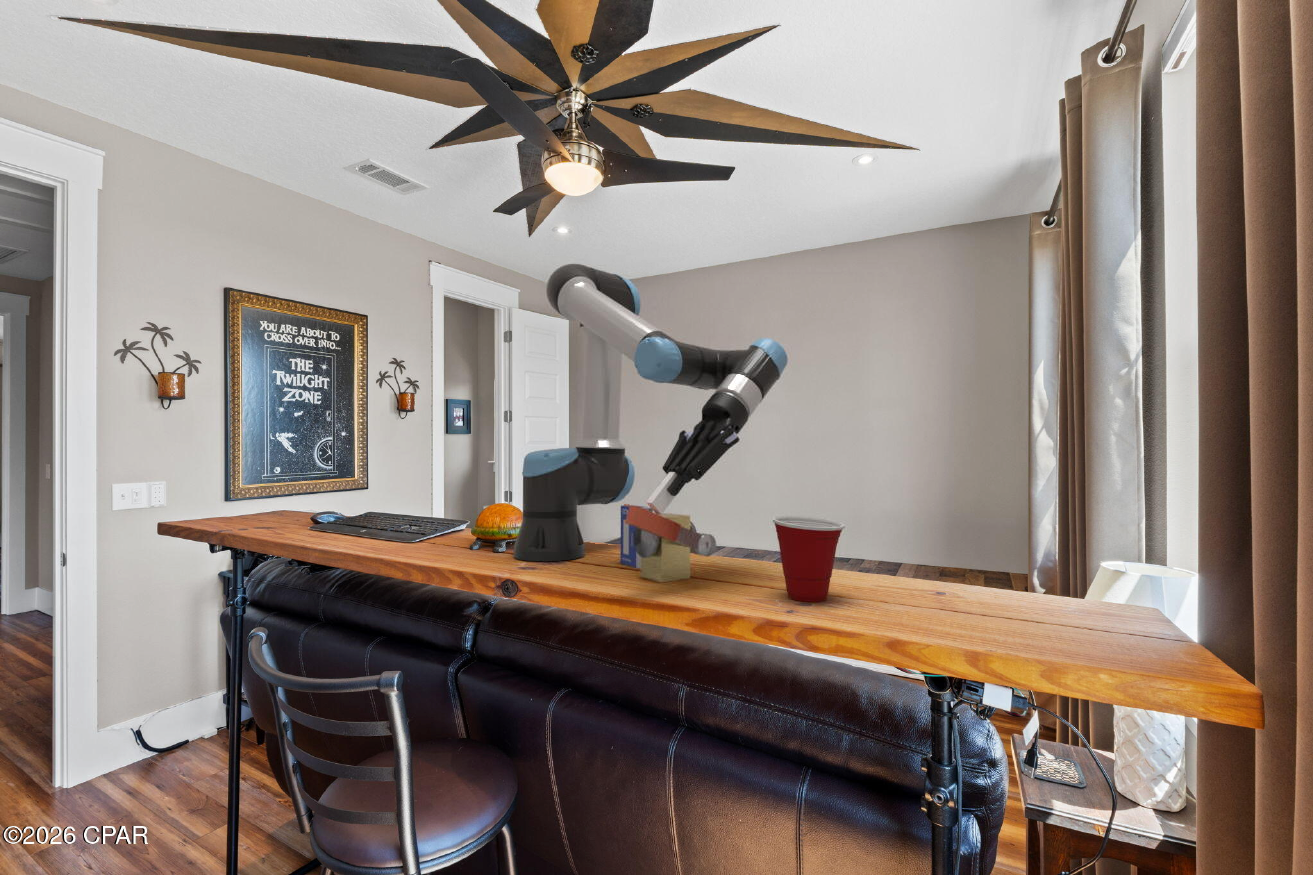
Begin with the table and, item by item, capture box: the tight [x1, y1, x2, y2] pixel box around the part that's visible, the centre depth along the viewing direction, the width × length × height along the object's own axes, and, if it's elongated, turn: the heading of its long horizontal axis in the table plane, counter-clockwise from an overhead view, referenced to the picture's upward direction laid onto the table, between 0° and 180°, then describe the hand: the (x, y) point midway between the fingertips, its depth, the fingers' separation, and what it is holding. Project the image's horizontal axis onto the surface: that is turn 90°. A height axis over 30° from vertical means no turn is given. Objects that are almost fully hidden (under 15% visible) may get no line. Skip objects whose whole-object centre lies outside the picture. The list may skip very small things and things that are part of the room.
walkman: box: [619, 503, 654, 570], centre depth 115 cm, size 8×3×12 cm, turn 35°
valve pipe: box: [633, 512, 698, 583], centre depth 101 cm, size 11×10×11 cm
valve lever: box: [625, 504, 717, 557], centre depth 91 cm, size 2×4×17 cm
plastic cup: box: [772, 515, 846, 603], centre depth 88 cm, size 11×11×12 cm
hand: (654, 508), depth 89 cm, fingers closed
